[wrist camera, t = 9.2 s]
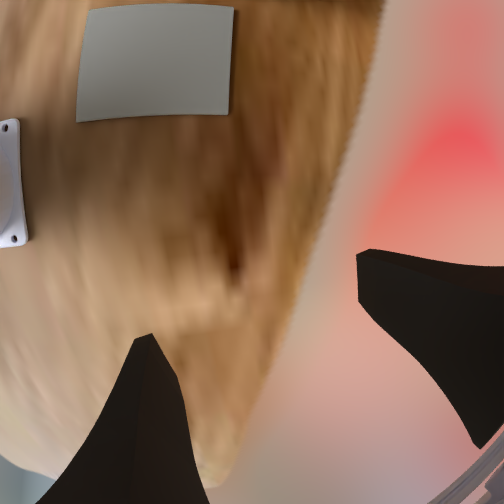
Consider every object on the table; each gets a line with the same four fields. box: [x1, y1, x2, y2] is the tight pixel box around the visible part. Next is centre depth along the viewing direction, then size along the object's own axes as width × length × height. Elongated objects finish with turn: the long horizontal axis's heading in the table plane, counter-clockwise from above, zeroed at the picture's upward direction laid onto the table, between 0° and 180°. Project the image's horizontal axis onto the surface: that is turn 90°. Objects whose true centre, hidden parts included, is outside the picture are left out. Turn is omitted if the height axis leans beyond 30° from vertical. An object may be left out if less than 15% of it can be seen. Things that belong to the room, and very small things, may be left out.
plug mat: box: [76, 3, 234, 123], centre depth 13 cm, size 9×8×1 cm
